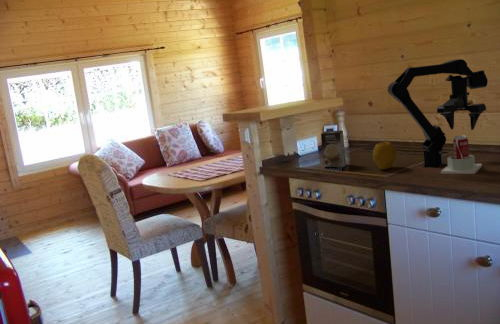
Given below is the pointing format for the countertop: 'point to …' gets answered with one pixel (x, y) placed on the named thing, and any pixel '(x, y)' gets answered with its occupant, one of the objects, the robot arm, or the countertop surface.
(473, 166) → the can holder
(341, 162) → the coffee box
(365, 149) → the countertop surface
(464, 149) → the soda can
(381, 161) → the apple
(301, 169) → the countertop surface
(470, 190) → the countertop surface
